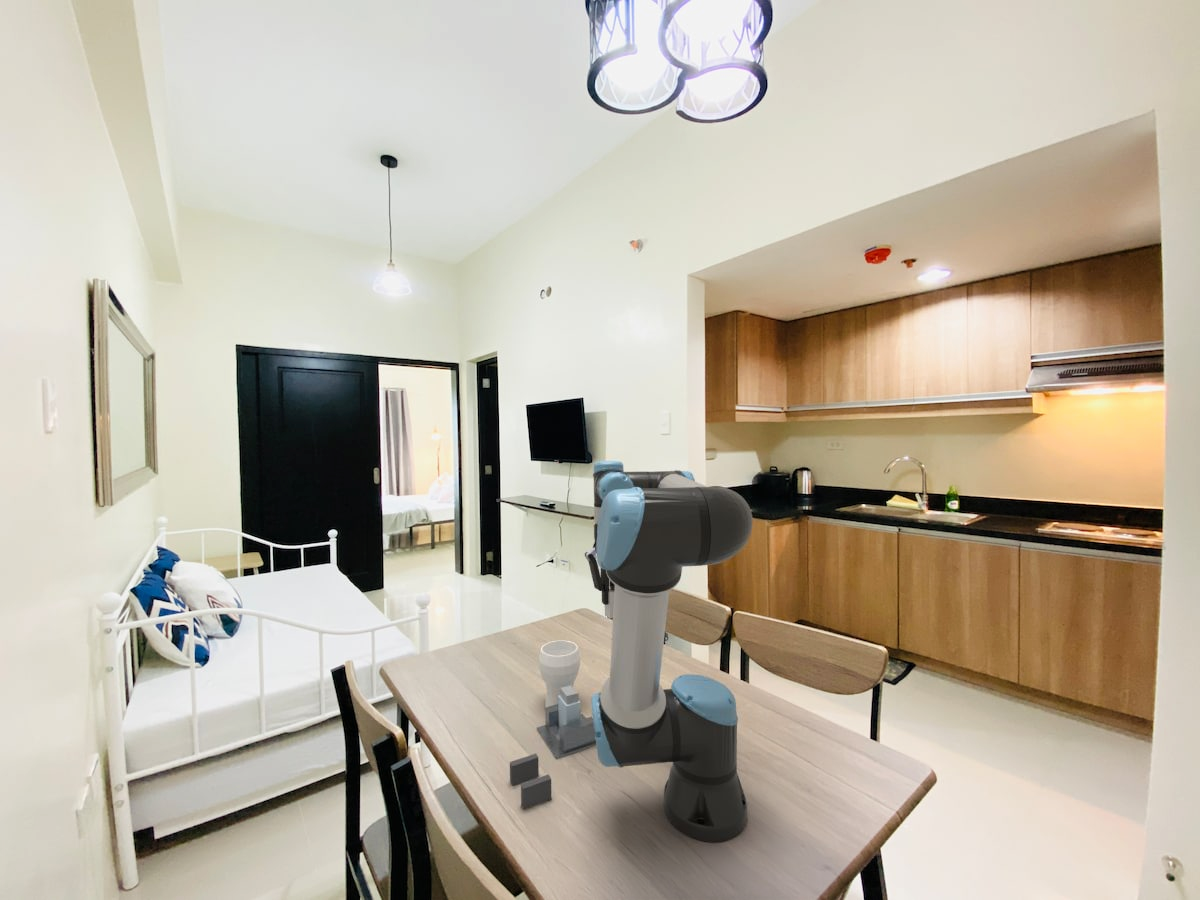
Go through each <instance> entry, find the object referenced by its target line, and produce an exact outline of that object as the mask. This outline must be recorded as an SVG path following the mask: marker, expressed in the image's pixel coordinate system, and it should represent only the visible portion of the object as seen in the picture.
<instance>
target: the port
mask: <svg viewBox="0 0 1200 900" xmlns="http://www.w3.org/2000/svg"><path fill="white" fill-rule="evenodd" d="M544 714H545V715H544V717H545V718H544V719H545V723H544V724H543V725H540V726H538V727H536V730H537V732H538V734H539V735H540V737H541V738H542V740H543V742H545V745H546V746H547V747H548V749H549V751H550V752H551V753H552V755H553V757H554V758H555V760H558V759H561V758H563V757H567V756H570V755H573V754H575V753H578V752H581V751H584V750H588V749H590V748H593V747H597V746H596V738H595V729H594V723H593V716H589V717H586V716H585V715H584V714H583V713H581V720H579V721H576V722H573V723H569V724H566V725H563V726H560V727H559V720H558V704H556V705H553V706H549V707H546V708H544Z"/></svg>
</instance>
